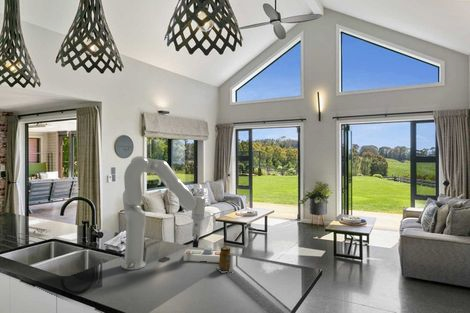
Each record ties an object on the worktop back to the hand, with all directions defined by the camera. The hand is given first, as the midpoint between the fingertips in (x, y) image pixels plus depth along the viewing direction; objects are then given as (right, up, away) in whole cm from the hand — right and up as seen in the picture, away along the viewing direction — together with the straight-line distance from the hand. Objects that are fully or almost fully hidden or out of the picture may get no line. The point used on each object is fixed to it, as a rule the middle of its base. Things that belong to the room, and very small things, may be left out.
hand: (195, 247), depth 179 cm
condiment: (+18, -8, -17) cm, 26 cm away
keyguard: (+6, -7, 0) cm, 10 cm away
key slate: (+7, -5, 0) cm, 9 cm away
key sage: (0, -6, 0) cm, 6 cm away
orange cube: (+14, -7, 0) cm, 16 cm away
